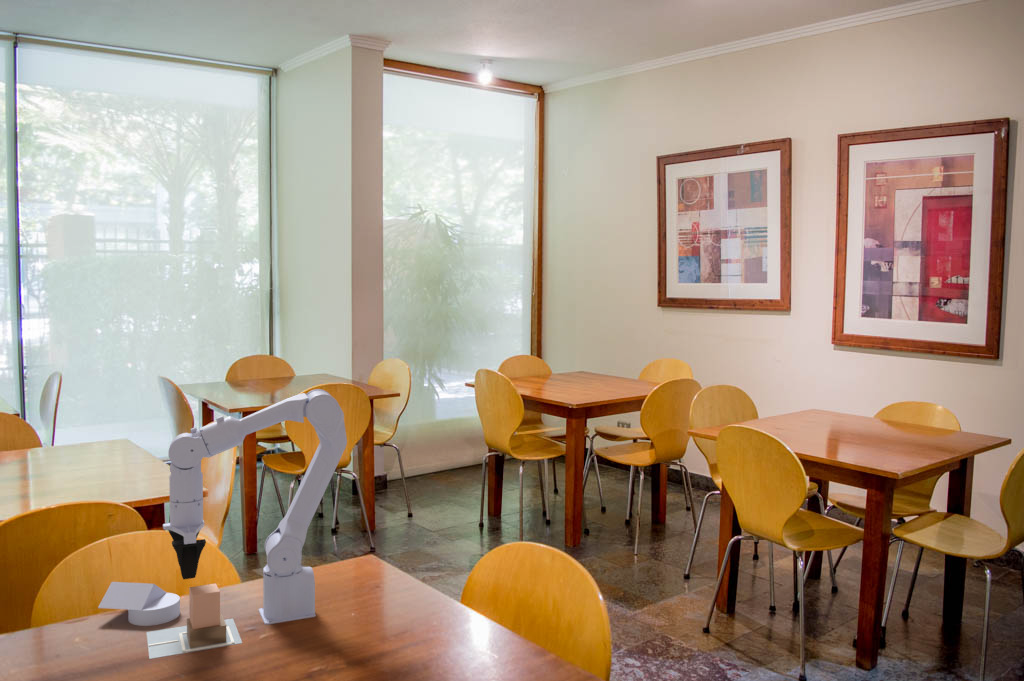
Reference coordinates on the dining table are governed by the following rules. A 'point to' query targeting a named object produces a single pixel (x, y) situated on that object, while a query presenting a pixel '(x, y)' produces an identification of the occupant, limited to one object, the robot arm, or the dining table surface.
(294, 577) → the robot arm
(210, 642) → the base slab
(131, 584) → the wedge on round base
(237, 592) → the dining table surface
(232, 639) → the board
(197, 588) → the column block
